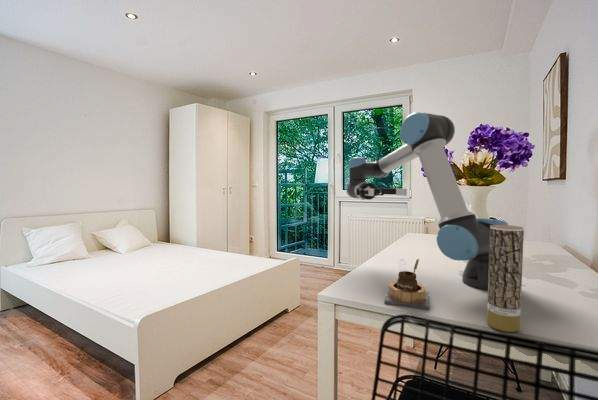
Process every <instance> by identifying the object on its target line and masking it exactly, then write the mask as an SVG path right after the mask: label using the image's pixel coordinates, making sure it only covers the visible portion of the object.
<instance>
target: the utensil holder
mask: <svg viewBox="0 0 598 400" xmlns="http://www.w3.org/2000/svg"><path fill="white" fill-rule="evenodd" d="M419 261H420V259H419V258H417V259H416V260H415V263H414V267H413V271H408V270H403V269H406V265H407V263H406V261H405V259H404V258H403V259H402V258H401V259H399V262H402V263H404V264H400V263H397V264H398V266H399V267H400V268H403V269H399V272H398V274H397V277H398V278H397V289H400V290H404V291H417V283H418V280H417V273H416V270H417V268H418V266H419ZM402 265H403V267H402Z"/></svg>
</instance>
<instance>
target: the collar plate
mask: <svg viewBox="0 0 598 400" xmlns="http://www.w3.org/2000/svg"><path fill="white" fill-rule="evenodd" d="M426 288H427V287H426V286H424V285H423V284H422V283H421V284H420V283H419V282H417V291H404V290H400V289H397V281H392V282H390V283H389V285H388V290H387V292H386V295H385V298H384V300H383V302H384V304H385V305H391V306H392V305H393V306H398V307H405V308H412V309H419V310H425V311H426V310H427V311H429V292H428V291H426V290H427V289H426Z"/></svg>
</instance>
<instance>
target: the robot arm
mask: <svg viewBox="0 0 598 400" xmlns="http://www.w3.org/2000/svg"><path fill="white" fill-rule="evenodd" d="M455 129H456V127H455V125H454V122H453V121H452V119H450V118H449V117H447V116H445V115H438V114H434V113H427V112H424V111H421V112H419V111H418V112H413V113H412V112H411V114H408V115H407V116H406V117H405V118H404V120H403V122H402V123H401V126H400V129H399V136H400V140H401V141H402V142H403V143H404V145H402V146H401V147H399V148H397V149H395V150H394V151H392V152H390V153H388V154H387V155H385V156H384V157H382V158H380V159H378V160H376V161H367V160H366V157H363V156H355V157H353V156H352V157H350V159H349V164H348V169H349V182H348V184H347V186H346V189H345V190H346V194H347V195H348V197H350V198H353V199H360V200H362V201H365V200H366V201H367V200H369V201H370V200H373V199H374V198H376V197H377V196H384V195H395V196H405V197H406V196H407V191H408V190H407V188H402V187H400V186H397V188H391V187H389V188H386V187H379V186H377V185H376V184H374V183H373V182H367V181H366V178H376V179H377V178H378V179H382V178H386V177H388V176H389V175H390V173H391V172H392V171H394V170H396V169H398V168H400V167H402V166H404V165H405V164H407V163H409V162H411V161H414V160H415V159H417V158H419V160H420V165H421V167H422V169H423V171H424V175H425V178H426V180H427V183H428V186H429V189H430V191H431V194H432V197H433V200H434V202H435V205H436V208H437V211H438V214H439V217H440V220H439V221H438V223H437V225H438V227H439V230H438V231H437V235H436V243H437V244H436V245H437V246H438V249H439V250H440V252H441V253H442V254H443V255H444V256H445V257H447V258H449V259H450V260H453V261H458V262H459V261H460V262H461V261H467V263H466V265H465V267H464V269H463V272H462V275H461V277H462V278H461V279H462V282H463V283H464V284H466V285H467V286H470V287H473V288H477V289H482V290H487V291H488V273H489V243H490V227H491V226H490V225H509V224H508V222H507V221H505V220H502V219H501V220H500V219H493V218H484V217H483V218H482V217H477V216H476V214H475V213H474V212H471V211H469V210H468V207H467V205H466V202H465V200H464V197H463V194H462V192H461V190H460V187H459V184H458V182H457V179H456V176H455V174H454V171H453V168H452V166H451V163H450V161H449V159H448V155H447V153H446V149H445V148H444V147H445V146H447V145H448V144H449V143H451V141H452V140H453V138H454V136H455V132H456V130H455Z"/></svg>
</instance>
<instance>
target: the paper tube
mask: <svg viewBox="0 0 598 400" xmlns="http://www.w3.org/2000/svg"><path fill="white" fill-rule="evenodd" d="M490 226H491V227H490V243H489V273H488V290H487V303H486V304H487V306H486V307H487V310H486V311H487V312H486V314H487V315H486V322H487V324H488V325H489V326H490V328H492V329H494V330H497V331H501V332H505V333H516V332H518V331H519V330H520V328H521V313H522V311H521V309H522V307H521V306H522V281H523V263H524V262H523V258H524V235H525V234H524V232H525V230H524V227H523V226H518V225H510V224H508V225H490Z"/></svg>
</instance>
